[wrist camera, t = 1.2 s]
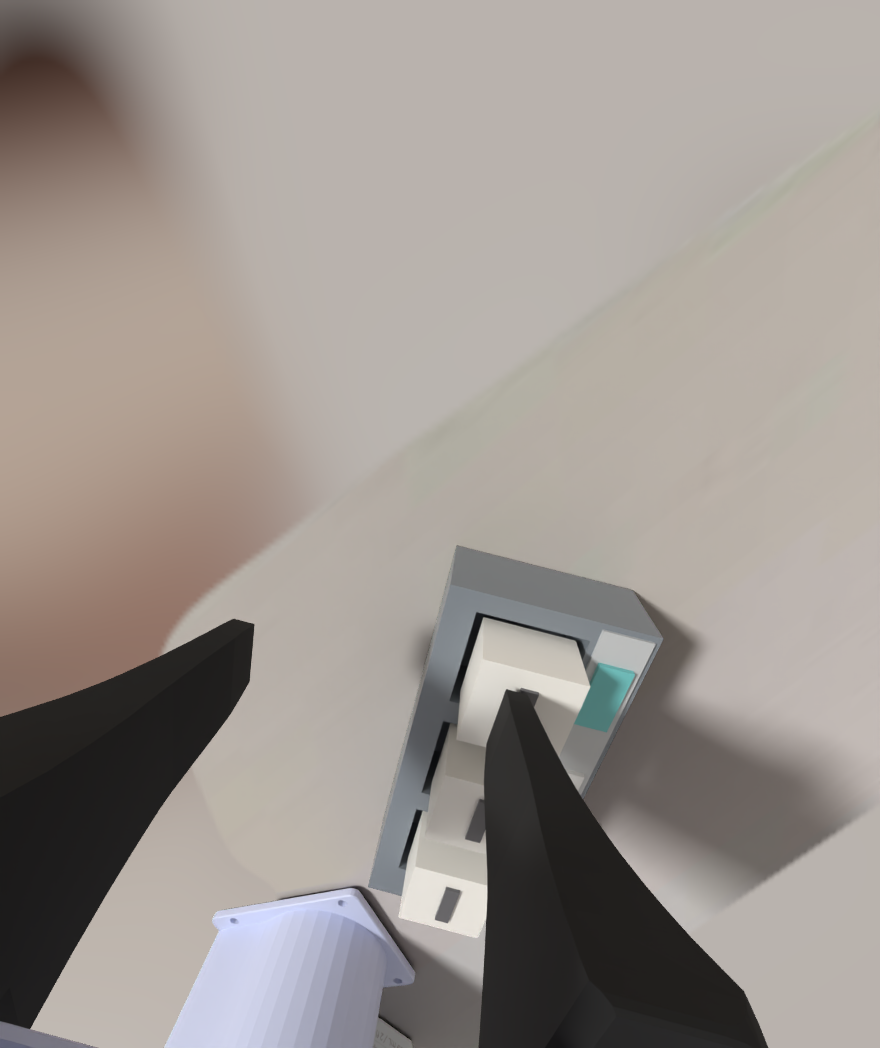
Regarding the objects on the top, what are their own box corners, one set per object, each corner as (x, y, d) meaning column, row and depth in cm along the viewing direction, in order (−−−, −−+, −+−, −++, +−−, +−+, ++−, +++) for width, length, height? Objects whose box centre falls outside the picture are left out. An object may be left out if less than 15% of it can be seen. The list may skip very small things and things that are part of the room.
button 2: (546, 712, 15) (555, 768, 13) (460, 690, 15) (456, 742, 13) (575, 640, 14) (591, 689, 12) (483, 617, 14) (482, 661, 12)
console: (514, 852, 21) (519, 934, 18) (383, 818, 21) (366, 894, 18) (632, 590, 16) (666, 643, 13) (456, 545, 16) (449, 588, 13)
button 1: (478, 876, 18) (477, 941, 16) (407, 857, 18) (398, 920, 16) (498, 828, 17) (499, 892, 15) (423, 808, 17) (414, 869, 15)
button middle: (509, 802, 17) (512, 864, 14) (431, 782, 17) (423, 841, 15) (532, 744, 15) (540, 802, 13) (450, 722, 16) (444, 777, 13)
